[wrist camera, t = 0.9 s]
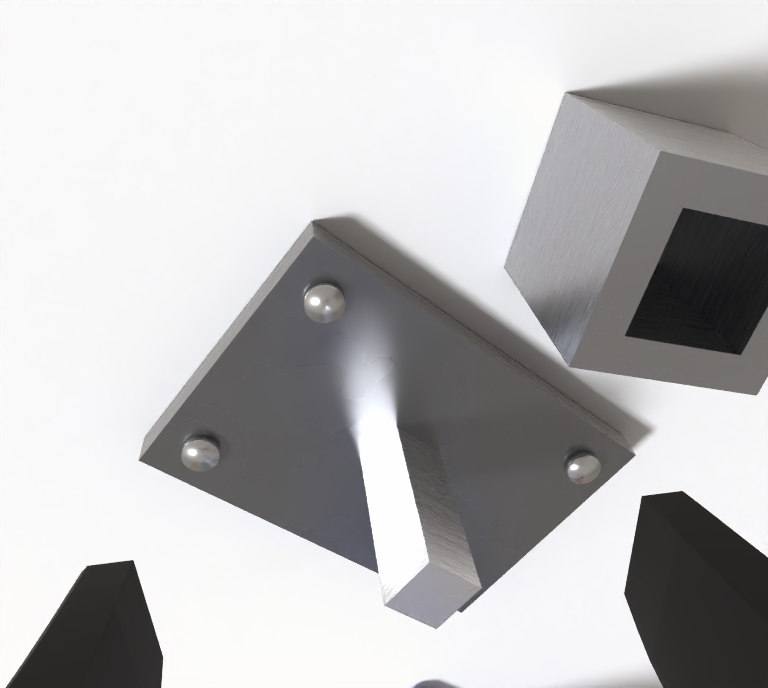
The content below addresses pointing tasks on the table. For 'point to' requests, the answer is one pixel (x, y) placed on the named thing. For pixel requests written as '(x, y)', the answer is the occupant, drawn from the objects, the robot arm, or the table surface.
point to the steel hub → (648, 248)
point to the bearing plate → (382, 431)
